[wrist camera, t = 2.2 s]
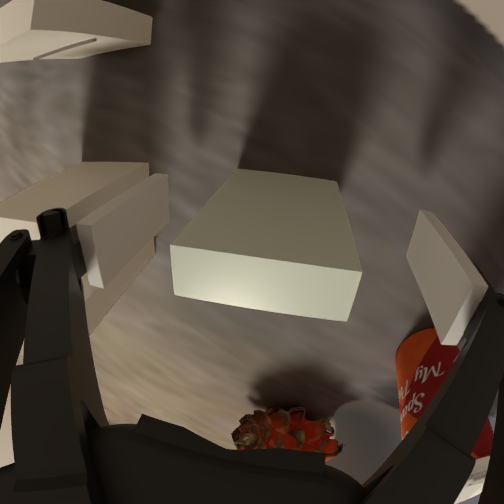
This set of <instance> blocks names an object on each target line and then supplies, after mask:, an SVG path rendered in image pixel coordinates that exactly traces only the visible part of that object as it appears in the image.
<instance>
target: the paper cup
mask: <svg viewBox="0 0 504 504" xmlns="http://www.w3.org/2000/svg"><path fill="white" fill-rule="evenodd" d="M459 352H460V351H459V349H458V347H457V345H442V344H441V343H440V340H439V337H438V334H437V331H436V329H435V327H433V328H426V329H423V330H420V331H418V332H416V333H414V334H412V335H410V336H409V337H408V338H406V339H405V340H404V341H403V342H402V343H401V345H400V346H399V347H398V349H397V352H396V358H395V360H396V372H397V382H398V393H399V404H400V417H401V433H402V440H403V439H404V438H405V436H406V435H407V434H408V432H409V431H410V430H411V428H412V427H413V426H414V424H415V423H416V422H417V420H418V419H419V417H420V416H421V415H422V413H423V412H424V410H425V409H426V407H427V406H428V405H429V403H430V402H431V400H432V398H433V397H434V395H435V394H436V392H437V391H438V389H439V388H440V386H441V384H442V383H443V381H444V379H445V378H446V376H447V374H448V373H449V371H450V369H451V368H452V366H453V364H454V362H453V361H454V360H455V358H456V357H457V355H458V354H459ZM493 437H494V433H493V430H492V427H491V425H490V422H489V419H488V417H487V420H486V422H485V425H484V427H483V429H482V432H481V434H480V436H479V438H478V440H477V442H476V444H475V447H474V449H473V451H472V453H471V456H472V457H474V458H475V459H476V463H475V466H474V468H473V471H472V473H471V475H470V476H469V478H468V480H467V482H466V484H465V486H464V487H463V489H462V491H461V493H460V494H459V496H458V498H457V499H456V501H455V503H454V504H456V503H459V502H462V501H464V500H466V499H468V498H471V497H473V496H476V495H478V494H480V493H481V492H482V488H483V484H484V481H485V477H486V472H487V468H488V464H489V459H490V454H491V449H492V443H493Z"/></svg>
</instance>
